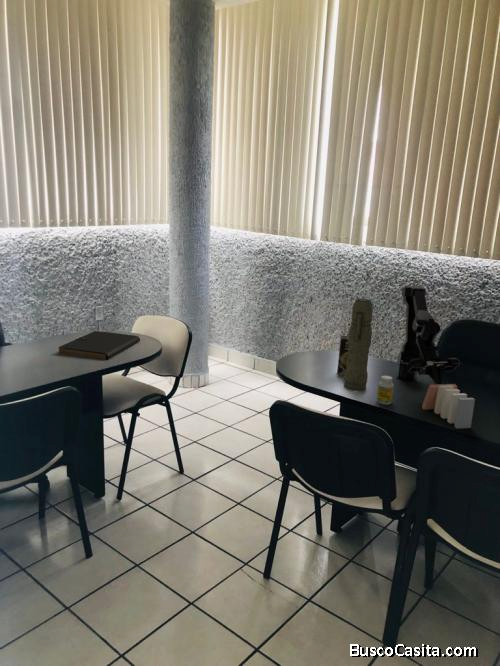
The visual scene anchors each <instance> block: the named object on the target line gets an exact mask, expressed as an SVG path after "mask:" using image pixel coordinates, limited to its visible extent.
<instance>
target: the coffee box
mask: <svg viewBox="0 0 500 666" xmlns="http://www.w3.org/2000/svg"><path fill="white" fill-rule="evenodd" d="M348 347H349V345H348V335H340V341H339V351H338V360H337V370H336V376H337V375H339V376H338V377H344V375H345V371H346V369H347V358H348Z"/></svg>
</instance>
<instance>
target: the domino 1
mask: <svg viewBox="0 0 500 666" xmlns="http://www.w3.org/2000/svg"><path fill="white" fill-rule="evenodd" d="M445 385H452V386H453V387H454V389H458V385H456V383H446V384H443V383H442V384H437V385H436V384H429V385H428V388H427V391H426V393H425V397H424V400H423V401H422V406H421V407H422V410H425V411H427V410H428V411H429V410H434V409H435V403H436V397H437V392H438V386H445Z"/></svg>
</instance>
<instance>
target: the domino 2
mask: <svg viewBox="0 0 500 666" xmlns="http://www.w3.org/2000/svg"><path fill="white" fill-rule="evenodd" d="M444 389H454V387H453V386H452V385H445V386H438V392H437V397H436V403H435V409H433V410H434V411H433V412H434V413H435V414H436V415H441V409H442V402H443V395H444Z"/></svg>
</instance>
